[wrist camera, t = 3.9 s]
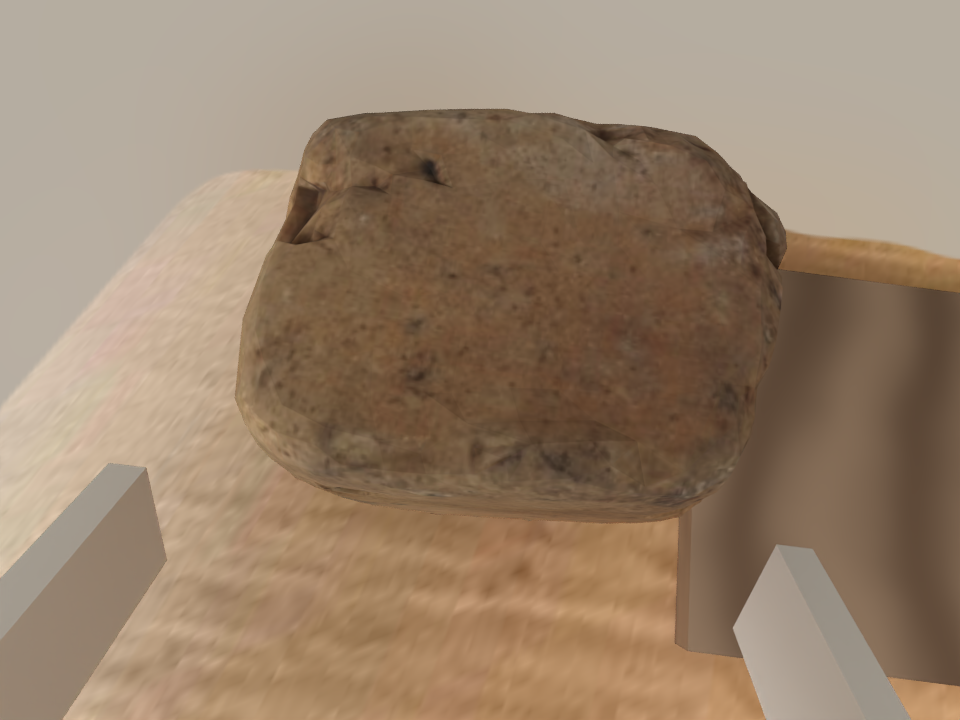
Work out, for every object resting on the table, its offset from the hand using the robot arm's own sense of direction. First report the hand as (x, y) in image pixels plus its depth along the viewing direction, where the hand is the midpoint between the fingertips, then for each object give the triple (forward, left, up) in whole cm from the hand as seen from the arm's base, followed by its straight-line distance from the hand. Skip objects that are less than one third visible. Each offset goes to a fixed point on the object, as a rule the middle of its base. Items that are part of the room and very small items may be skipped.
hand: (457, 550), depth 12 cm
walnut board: (-21, -5, -15) cm, 26 cm away
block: (-1, -4, -15) cm, 16 cm away
